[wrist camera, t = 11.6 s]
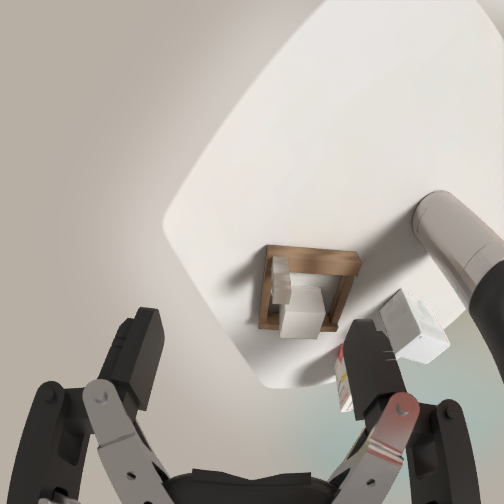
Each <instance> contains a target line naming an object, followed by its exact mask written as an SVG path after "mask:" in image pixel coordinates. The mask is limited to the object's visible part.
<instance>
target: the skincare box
mask: <svg viewBox="0 0 504 504" xmlns="http://www.w3.org/2000/svg"><path fill="white" fill-rule="evenodd" d="M380 314H381V317H382V320H383V322H384V325H385V328H386V331H387V334H388V337H389V339H390V342H391V346H392V349H393V352H394V354H395V355H396V356H399V357H403V358H406V359H409V360H413V361H416V362H420V363H423V364H428V363H429V362H430V361H432V360H433V359H434V358H436V357H437V356H438V355H439V354H440V353H442V352H443V351H444V350H445V349H447V348H448V347H449V346H450V343H449V341H448V339H447V337H446V335H445V333H444V331H443V329H442V326H441V324H440V323H439V320H438V318H437V316H436V314H435V312H434V310H433V308H432V306H431V305H430V304H429V303H427V302H425V301H423V300H421V299H420V298H418V297H416V296H414V295H412V294H410V293H409V292H407V291H405V290H403V289H400V290H399V291H398V292H397V293H396V294H395V295H394V296H393V297H392V298H391V299H390V300H389V301H388V302H387V303H386V304H385V305H384V306H383V307H382V308H381V309H380Z"/></svg>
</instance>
